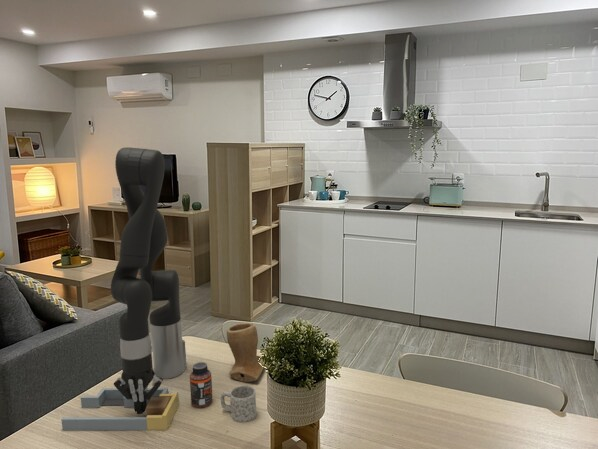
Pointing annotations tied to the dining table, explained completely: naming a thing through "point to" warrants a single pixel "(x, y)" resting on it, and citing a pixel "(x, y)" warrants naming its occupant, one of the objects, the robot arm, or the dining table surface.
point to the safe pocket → (164, 414)
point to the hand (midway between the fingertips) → (141, 412)
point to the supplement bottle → (201, 385)
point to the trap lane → (108, 423)
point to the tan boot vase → (244, 352)
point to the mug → (241, 403)
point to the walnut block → (157, 405)
